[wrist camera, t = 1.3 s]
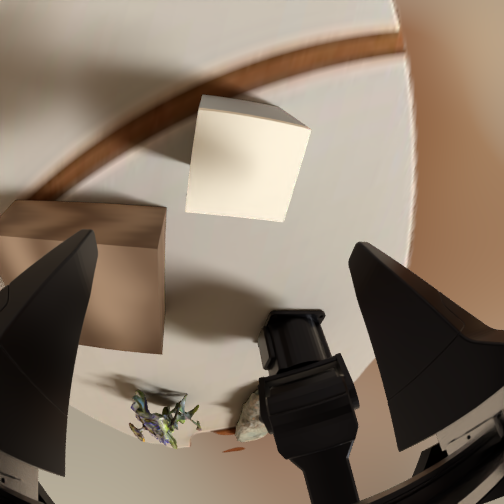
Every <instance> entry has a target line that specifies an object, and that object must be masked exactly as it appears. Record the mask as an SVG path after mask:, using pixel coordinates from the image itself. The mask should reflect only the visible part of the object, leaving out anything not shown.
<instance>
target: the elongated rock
mask: <svg viewBox="0 0 504 504" xmlns="http://www.w3.org/2000/svg"><path fill="white" fill-rule="evenodd" d="M243 405H244V406H243V407H242V408H243V410H242V414H241V415H240V421H239V422H238V426H236V432H235V436H236V438H237V441H240V442H249V441H252V440H257V439H259V438H262V437H264V436H265V435H266V434H267V433H268V431H267V429H266V427H265V425H264V424H263V423H261V422H260V421H259V406H260V404H259V390H257V391H256V392H255V393H252V394H251V396H250V397H249V400H248V401H247V402H246V403H244V404H243Z"/></svg>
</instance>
